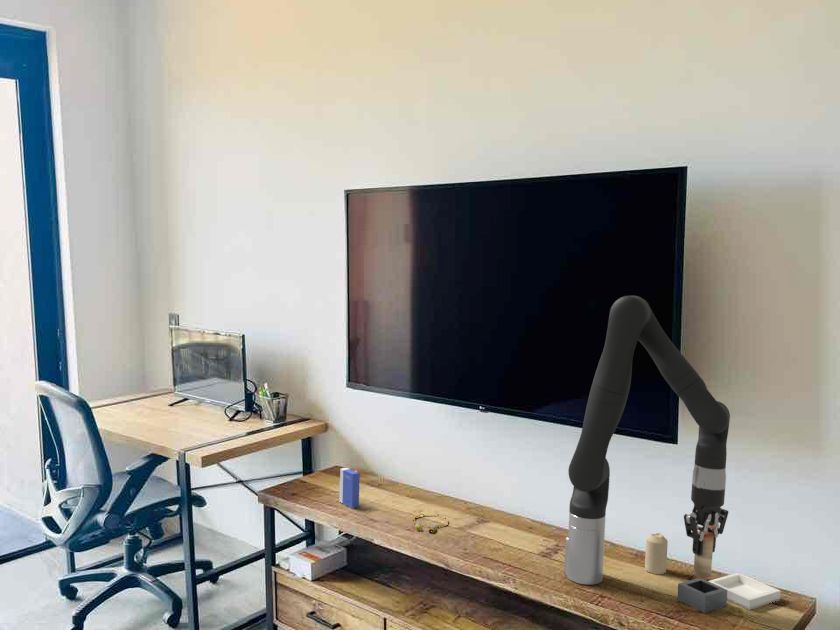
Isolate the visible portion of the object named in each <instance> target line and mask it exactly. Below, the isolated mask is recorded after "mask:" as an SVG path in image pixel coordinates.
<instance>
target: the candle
mask: <svg viewBox="0 0 840 630" xmlns="http://www.w3.org/2000/svg"><path fill="white" fill-rule="evenodd" d="M645 539H646V540H645V556H644V557H645V560H644V570H645V571H646V570H647V571H648V572H647V571H646V572H647V573H649V572H650V574H652V573H653V574H652V575H664V573H665V574H666V573H667V562H668V561H667V560H668V545H669V543H668V542H669V541H668V540H667V538H666V537H665V536H664V535H663V533H661V532H660V533H659V532H656V533H654V534H653V533H652V534H649V535H648V536H647V537H646V538H645Z"/></svg>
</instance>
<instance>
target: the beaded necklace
mask: <svg viewBox="0 0 840 630" xmlns="http://www.w3.org/2000/svg"><path fill="white" fill-rule="evenodd" d="M424 514H425V513H424ZM424 514H422V513H421V514H419V515H416V516H415V517H413V519H414V522H415V523H416V524H415V523H414V526H415V530H416V532H423V531H422V530H423V527H422V526H421V525H422V524H420V523H419V522H417V521H416V519H415V518H416V517H418V516H419V517H421V516H420V515H423V516H425V515H424ZM436 514H437V513H436ZM439 515H440V514H437V516H439ZM444 525H445V524H444ZM444 525H443V524H442V525H441V526H443V527H444ZM439 526H440V525H433V524H432V525H430V526H429V527H430V528H428V533H429V534H430V532H431V531H432V532H431V534H432V533H433V534H434V533H435V532H436V530H437V529H439V528H438V527H439ZM419 530H420V531H419Z"/></svg>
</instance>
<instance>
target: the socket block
mask: <svg viewBox="0 0 840 630" xmlns="http://www.w3.org/2000/svg"><path fill="white" fill-rule="evenodd" d="M709 581H710V580H706V579H704V578H703V577H702V578H701V577H698V578H693V579H689V580H686V581H683V582H680V583H678V584H677V597H676V598H677V600H678V601H680V602H681V603H684V604H686V605H688V606H690V607H692V608H694V609H696V610H697V611H700V612H702V613H703V614H706V613H709V612H712V611H715V610H718V609H722V608H725V607H727V606H728V604H727V603H728V600H727V590H726V589H724V588H722V587H720V586H717V585H715V584H713V583H711V582H709Z"/></svg>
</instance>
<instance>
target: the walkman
mask: <svg viewBox="0 0 840 630" xmlns="http://www.w3.org/2000/svg"><path fill="white" fill-rule="evenodd" d="M339 470H340V471H339V473H340V474H339V497H338V498H339V499H338V501H339V502H341V503H343V504H345V505H347V506H349V507H348V508H350V507H351V508H350V509H352V508H353V507H358V506H359V507H360V481H361V479H360V478H361V476H360V474H361V473H360V472H358V471H359V470H353V469H351V468H349V467H344V468H339ZM341 503H340V504H341ZM343 504H342V505H343ZM345 505H344V506H345ZM347 506H346V507H347ZM359 507H358V508H359ZM353 509H354V508H353Z"/></svg>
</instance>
